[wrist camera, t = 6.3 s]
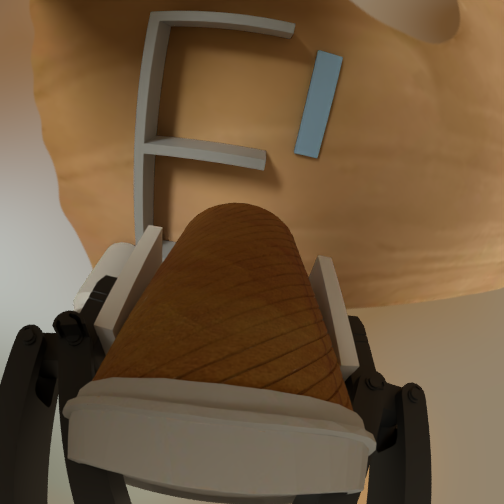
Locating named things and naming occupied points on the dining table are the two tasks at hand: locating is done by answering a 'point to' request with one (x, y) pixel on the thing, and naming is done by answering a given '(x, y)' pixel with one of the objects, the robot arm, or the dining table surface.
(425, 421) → the robot arm
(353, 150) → the dining table surface
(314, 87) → the blue rectangular block
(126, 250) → the can
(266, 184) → the dining table surface
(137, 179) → the comb rack
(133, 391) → the disposable coffee cup
